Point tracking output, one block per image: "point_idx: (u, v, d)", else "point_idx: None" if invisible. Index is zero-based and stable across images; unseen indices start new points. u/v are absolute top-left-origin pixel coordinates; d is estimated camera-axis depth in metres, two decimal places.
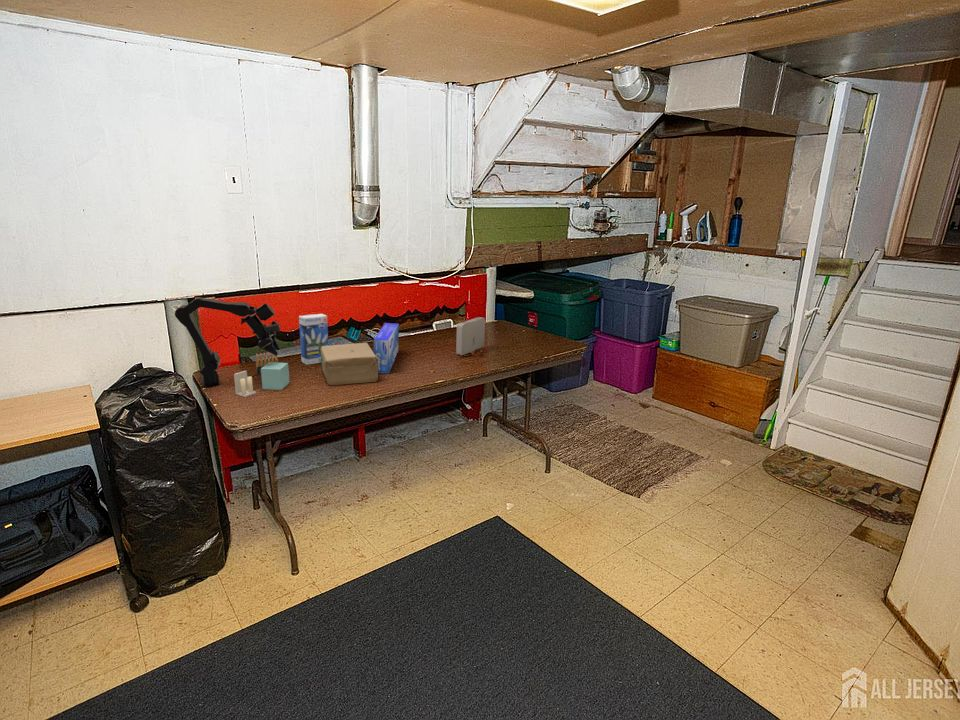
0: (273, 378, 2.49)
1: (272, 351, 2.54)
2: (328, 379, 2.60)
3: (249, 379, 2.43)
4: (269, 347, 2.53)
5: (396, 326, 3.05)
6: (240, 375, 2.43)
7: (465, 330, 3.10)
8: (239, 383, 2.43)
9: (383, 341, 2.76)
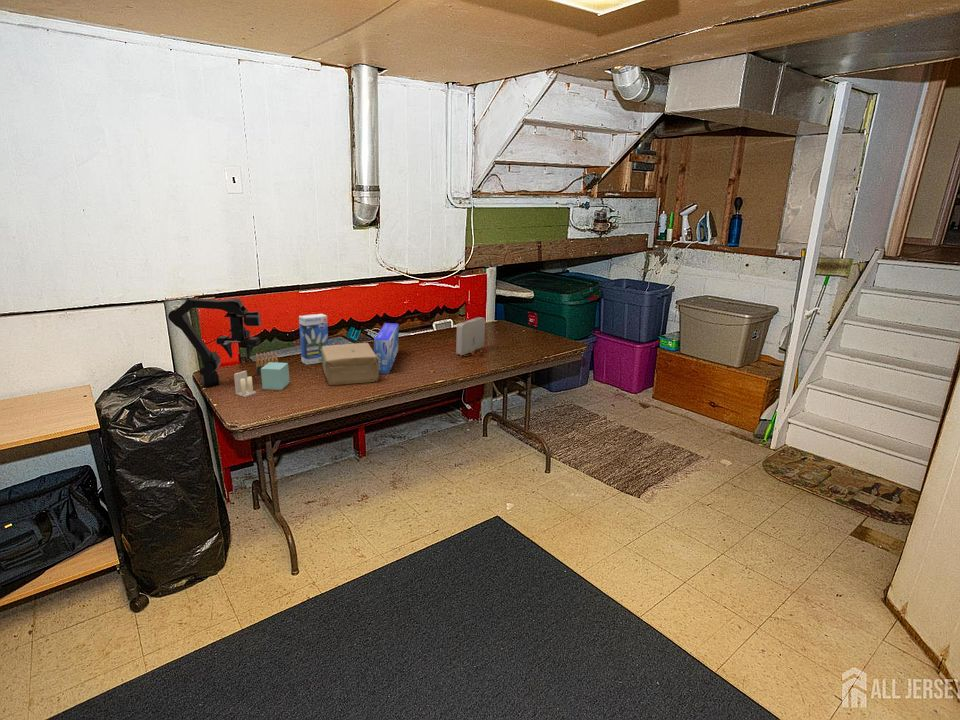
0: (273, 378, 2.49)
1: (249, 353, 2.54)
2: (329, 379, 2.60)
3: (249, 379, 2.43)
4: (250, 348, 2.53)
5: (396, 326, 3.05)
6: (240, 375, 2.43)
7: (466, 330, 3.10)
8: (239, 383, 2.43)
9: (383, 341, 2.76)
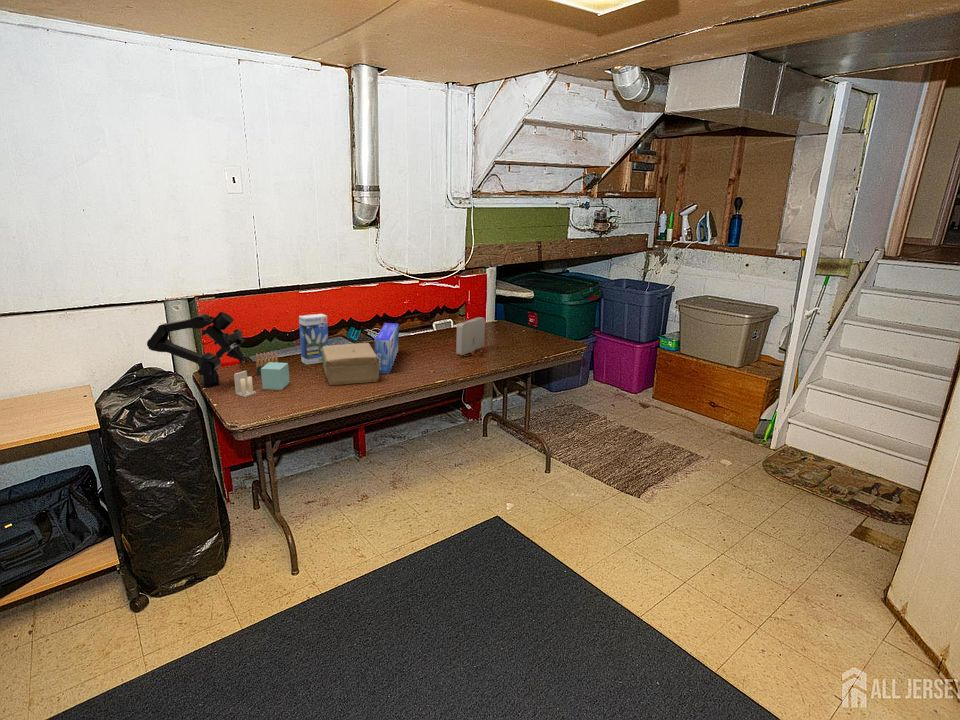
0: (273, 378, 2.49)
1: (238, 357, 2.51)
2: (329, 379, 2.60)
3: (249, 379, 2.43)
4: (234, 353, 2.50)
5: (396, 326, 3.05)
6: (240, 375, 2.43)
7: (466, 330, 3.10)
8: (239, 383, 2.43)
9: (384, 341, 2.76)
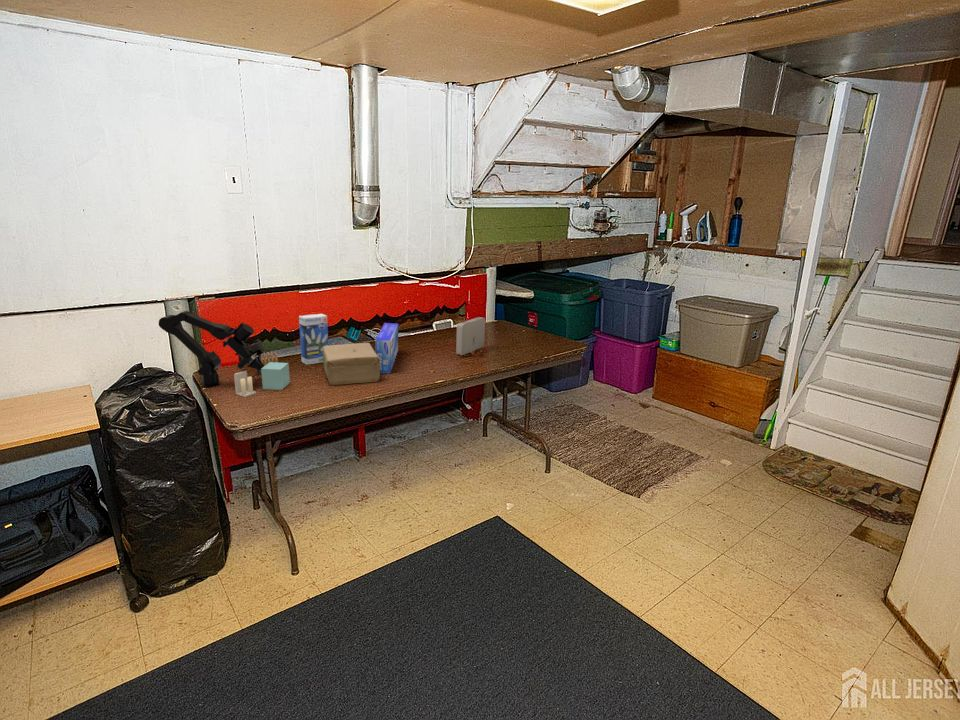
0: (273, 378, 2.49)
1: (259, 367, 2.52)
2: (330, 379, 2.60)
3: (249, 379, 2.43)
4: (255, 364, 2.51)
5: (396, 326, 3.05)
6: (240, 375, 2.43)
7: (466, 330, 3.10)
8: (239, 383, 2.43)
9: (385, 341, 2.76)
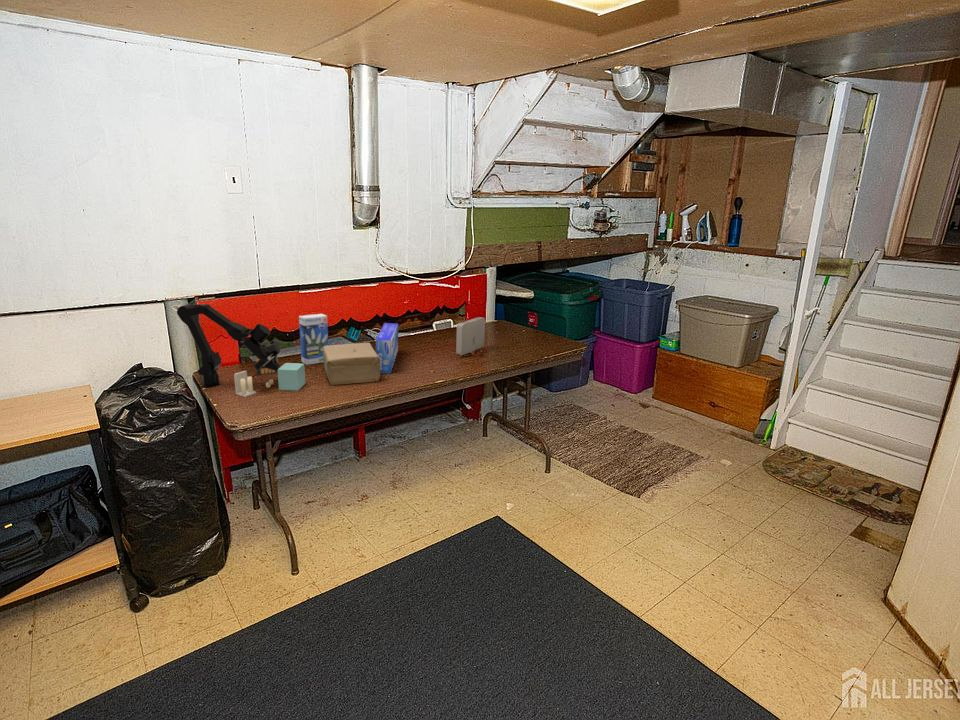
0: (290, 379, 2.49)
1: (275, 368, 2.52)
2: (330, 379, 2.60)
3: (249, 379, 2.43)
4: (271, 365, 2.51)
5: (396, 326, 3.06)
6: (240, 375, 2.43)
7: (465, 330, 3.10)
8: (239, 383, 2.43)
9: (385, 341, 2.76)
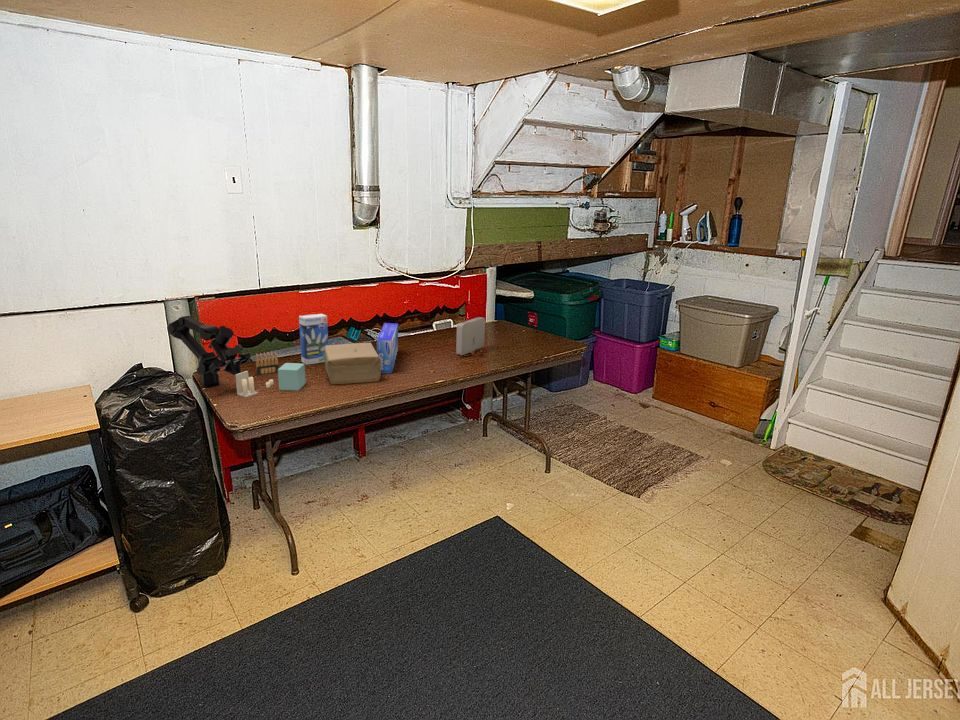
0: (290, 379, 2.49)
1: (235, 373, 2.43)
2: (331, 378, 2.61)
3: (250, 379, 2.42)
4: (231, 369, 2.43)
5: (396, 326, 3.06)
6: (241, 375, 2.42)
7: (466, 330, 3.10)
8: (240, 383, 2.42)
9: (386, 341, 2.76)
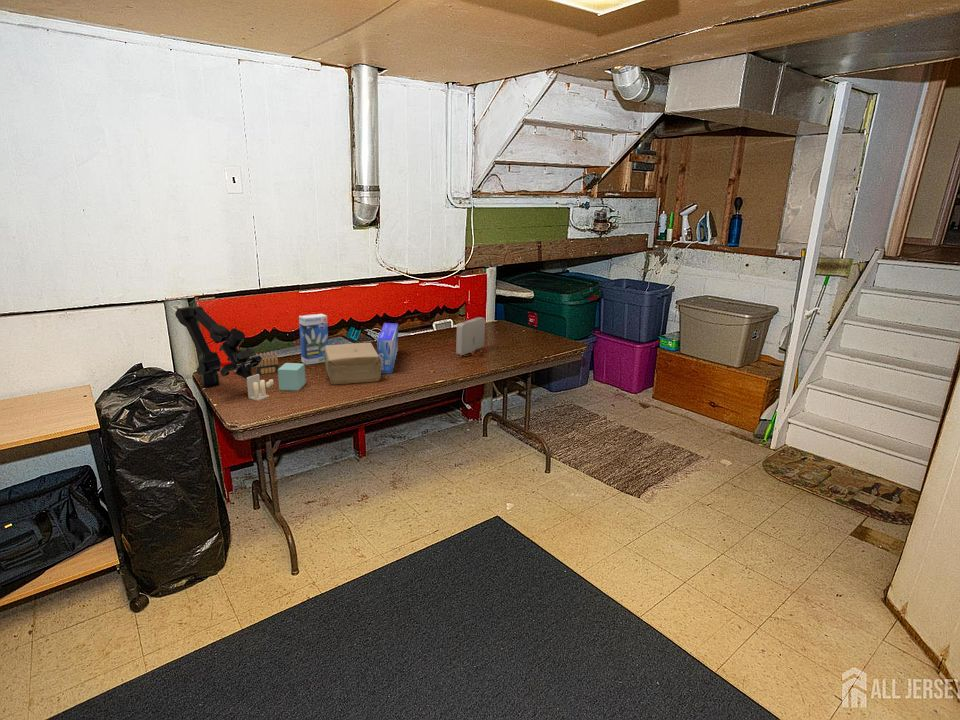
0: (290, 379, 2.49)
1: (246, 377, 2.40)
2: (331, 378, 2.61)
3: (262, 383, 2.39)
4: (243, 372, 2.40)
5: (396, 326, 3.06)
6: (253, 378, 2.39)
7: (465, 330, 3.10)
8: (252, 387, 2.39)
9: (386, 341, 2.76)
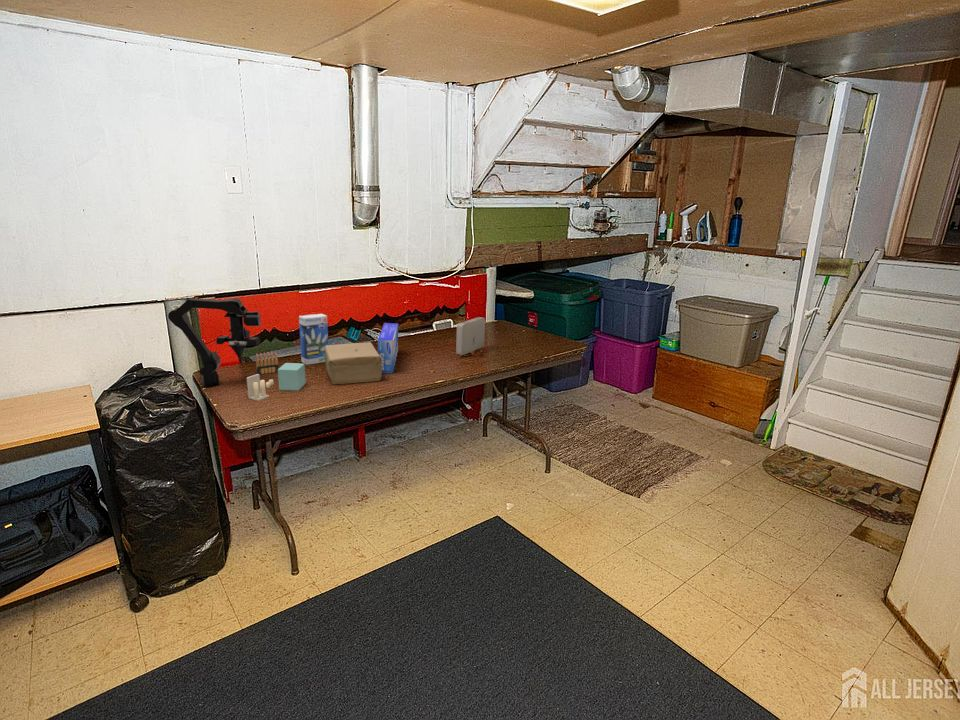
0: (290, 379, 2.49)
1: (241, 353, 2.54)
2: (332, 378, 2.61)
3: (262, 383, 2.39)
4: (241, 348, 2.53)
5: (396, 326, 3.06)
6: (253, 378, 2.39)
7: (465, 330, 3.10)
8: (252, 387, 2.39)
9: (387, 341, 2.76)
